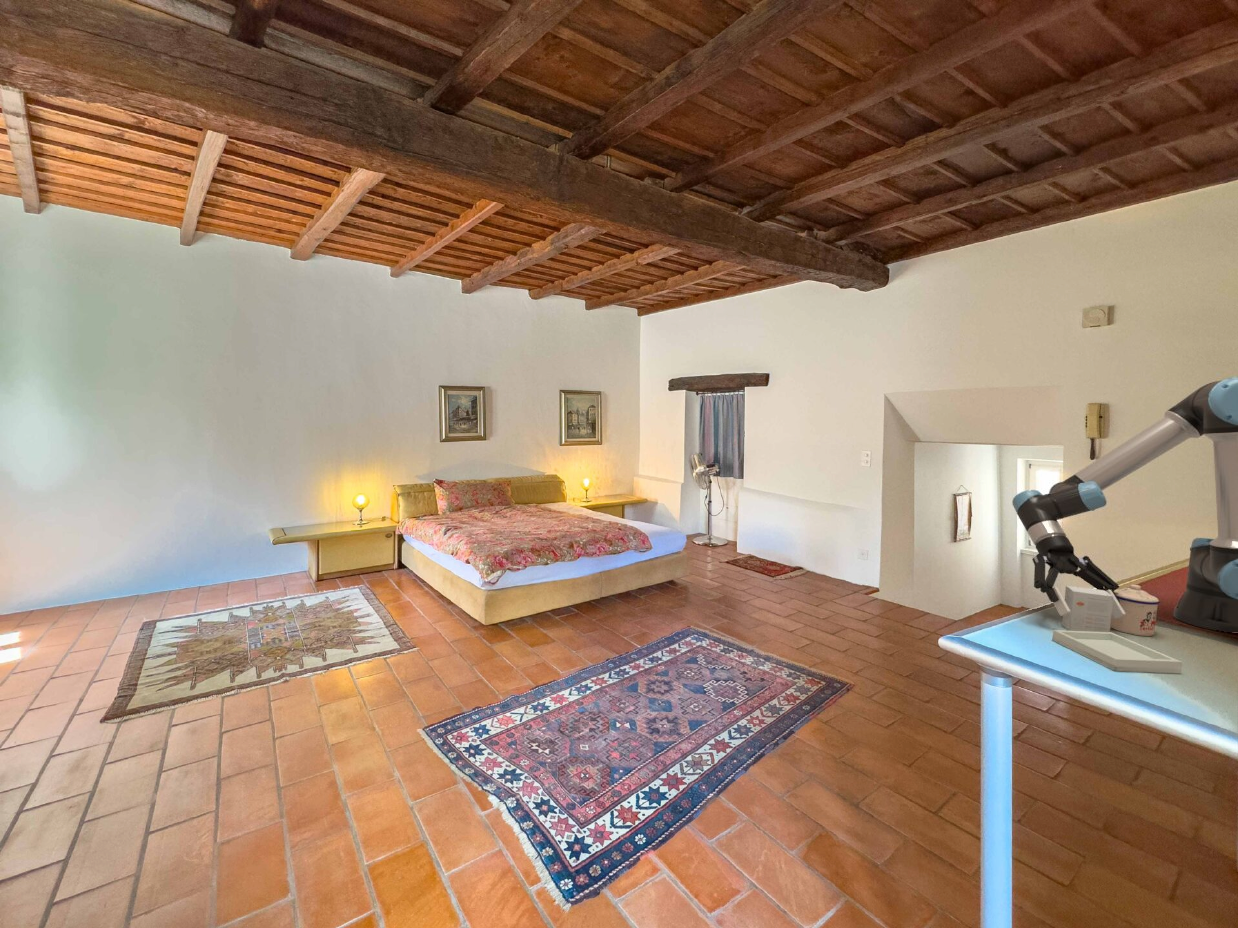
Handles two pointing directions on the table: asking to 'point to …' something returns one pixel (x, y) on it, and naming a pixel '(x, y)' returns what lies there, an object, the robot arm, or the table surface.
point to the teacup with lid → (1136, 611)
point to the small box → (1087, 609)
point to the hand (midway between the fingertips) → (1093, 615)
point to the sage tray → (1117, 652)
